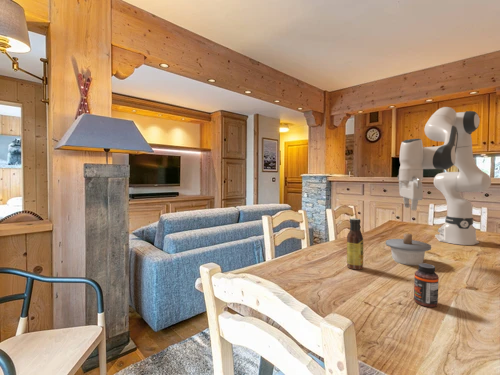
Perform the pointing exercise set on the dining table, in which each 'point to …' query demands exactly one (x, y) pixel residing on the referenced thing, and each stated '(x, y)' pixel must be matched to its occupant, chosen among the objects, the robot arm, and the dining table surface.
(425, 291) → the supplement bottle
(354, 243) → the sauce bottle
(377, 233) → the dining table surface
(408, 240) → the lid
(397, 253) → the ramekin
